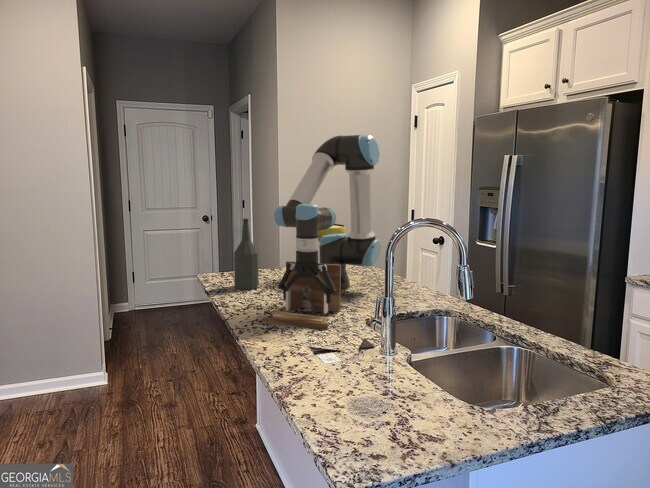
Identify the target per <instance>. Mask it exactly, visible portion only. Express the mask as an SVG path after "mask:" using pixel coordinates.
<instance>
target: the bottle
mask: <svg viewBox="0 0 650 488" xmlns="http://www.w3.org/2000/svg"><path fill="white" fill-rule="evenodd" d="M249 221H250V220H249V218H243V219H242V230H241V231H242V233H241V240H240V242H239V244H238V246H237V247H236V249H235V251H234V253H233V258H234V260H233V263H234V265H233V266H234V270H233V271H234V287H235V289H236V290H240V291H251V290H252V291H253V290H255V289H258V287H259V286H260V285H259V283H260V277H259V275H260V274H259V251H258V250H257V247H256V246H255V245H254V243H253V242H252V240H251V232H250V224H249Z"/></svg>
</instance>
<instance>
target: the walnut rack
mask: <svg viewBox="0 0 650 488" xmlns="http://www.w3.org/2000/svg"><path fill="white" fill-rule="evenodd" d="M290 262H292V263H293V264H296V261H289V260H287V261H286V262H285V270H286V269H287V264H288V263H290ZM318 264H319V266H320V265H325V264H321V263H319V262H318ZM326 265H327V268H328V272H329V275H330V277H331V279H332V281H333V283H334V285H335V287H336V292H335V293H331V302H330V303H329V304H328V312H335V313H336V312H337V313H340V312H341V307H342V306H341V303H342V301H341V300H342V299H341V297H342V296H341V294H342V293H341V265H337V264H326ZM317 272H318V273H319V275H320V277H321V278H322V279H323V281H324V282H325V283H326V285H327V286H328V284H327V282H326V279H325V277H324V275H323V272H321V270H320V269H319V270H318V271H317ZM296 273H297V270H296V269H295V267H294V268H293V269H292V270H291V272H290V274H289V276H288V278H287V280H286V282H285V286H286V285H287V283H288V282H289V281H290V280H291V279H292V278H293V277H294V275H295V274H296ZM306 285H308V287H309V288H310V289H311V297H312V299H311V305H312V307H315V310H314V311H317V310H318V311H324V294H325V291H324V290H323V289H322V288H321V286H320V285H319V284H318V282H317V281H316V280H315V279H314V278H313V277H311V278H308V277H302V276H299V277H298V278H297V279H296V281H295V282H294V283H293V284H292V285H291V286H290V287H289V289H288V290H291V308H292V309H298V308H299V307H301V306H302V304H303V299H302V297H303V289H304V288H305V287H306ZM328 287H329V286H328ZM291 308H290V309H291ZM263 324H268V325H278V326H285V327H286V326H288V327H299V328H307V329H308V328H309V329H319V330H327V331H328V329H329V322H326V323H323V322H313V321H303V320H292V319H282V318H273V317H269V316H265V317H263Z"/></svg>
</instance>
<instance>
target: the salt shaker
mask: <svg viewBox="0 0 650 488" xmlns="http://www.w3.org/2000/svg"><path fill="white" fill-rule="evenodd" d="M302 299H303V304H302V306H301V307H299V308H297V310H299V311H298V312H299V314H305V315H313V316H314V314H315V311H316V310H315V307H312V305H311V299H312V297H311V289H310V288H309V287H308V285H306V287H305V288H304V289H303V297H302Z"/></svg>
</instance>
